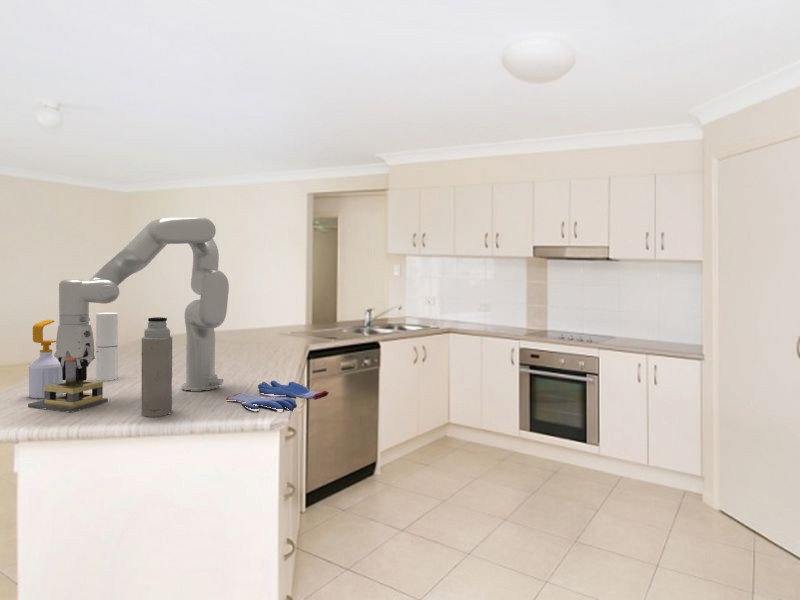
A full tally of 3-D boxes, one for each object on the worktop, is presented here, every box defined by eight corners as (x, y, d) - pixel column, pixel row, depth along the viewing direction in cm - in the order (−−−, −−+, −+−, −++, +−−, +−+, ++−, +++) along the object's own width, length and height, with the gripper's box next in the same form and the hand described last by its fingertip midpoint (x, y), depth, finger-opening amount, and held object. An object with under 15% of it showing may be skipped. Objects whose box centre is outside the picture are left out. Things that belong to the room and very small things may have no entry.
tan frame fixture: (107, 401, 156) (107, 381, 156) (71, 412, 144) (70, 389, 143) (67, 397, 160) (67, 377, 160) (28, 407, 148) (27, 385, 147)
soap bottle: (69, 393, 165) (69, 320, 163) (42, 400, 156) (41, 322, 155) (50, 391, 168) (50, 318, 166) (22, 397, 159) (21, 320, 158)
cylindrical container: (107, 381, 184) (107, 314, 183) (91, 380, 186) (91, 313, 185) (122, 377, 191) (122, 313, 190) (106, 376, 193) (106, 312, 192)
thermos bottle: (136, 416, 141) (136, 318, 139) (148, 409, 149) (148, 316, 147) (165, 417, 141) (166, 319, 140) (176, 409, 149) (176, 316, 148)
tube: (87, 394, 153) (87, 349, 152) (73, 397, 148) (73, 351, 148) (75, 393, 154) (74, 348, 154) (61, 396, 150) (61, 350, 149)
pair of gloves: (276, 418, 145) (276, 405, 145) (211, 406, 156) (211, 394, 156) (335, 395, 174) (335, 385, 174) (277, 387, 185) (277, 377, 185)
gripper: (107, 320, 152) (107, 379, 153) (63, 318, 156) (63, 375, 157) (86, 322, 145) (86, 384, 145) (40, 320, 149) (41, 380, 150)
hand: (74, 379), depth 151 cm, fingers closed on tube, 4 cm apart
